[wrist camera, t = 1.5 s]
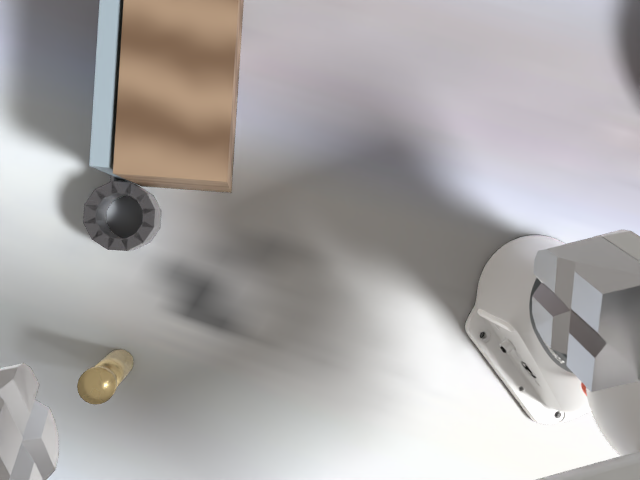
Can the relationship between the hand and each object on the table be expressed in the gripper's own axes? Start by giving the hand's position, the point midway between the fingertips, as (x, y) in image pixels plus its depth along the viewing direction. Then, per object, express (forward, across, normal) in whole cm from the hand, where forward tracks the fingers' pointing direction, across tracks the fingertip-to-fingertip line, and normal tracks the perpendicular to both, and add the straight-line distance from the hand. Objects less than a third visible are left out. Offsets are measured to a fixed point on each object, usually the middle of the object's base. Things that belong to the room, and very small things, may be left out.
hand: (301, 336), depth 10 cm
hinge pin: (+48, -16, -34) cm, 61 cm away
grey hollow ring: (+56, -12, -18) cm, 60 cm away
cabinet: (+60, -2, -8) cm, 61 cm away
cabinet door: (+61, -9, -7) cm, 62 cm away
